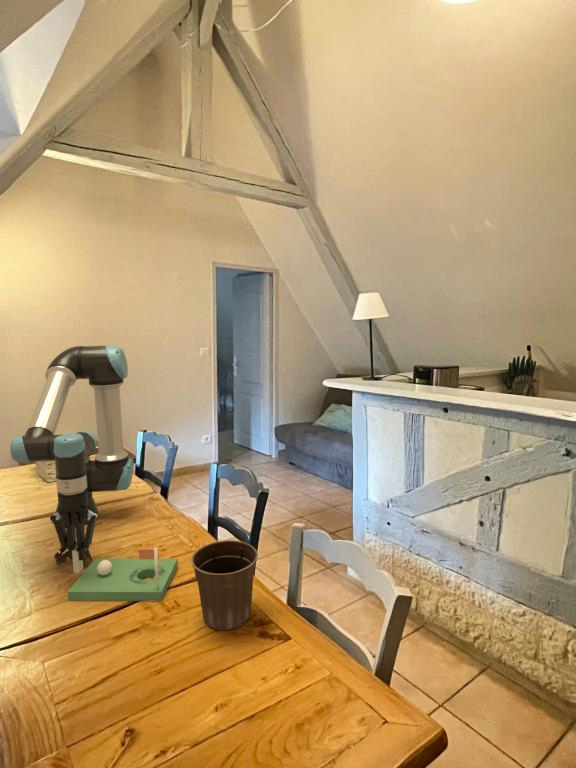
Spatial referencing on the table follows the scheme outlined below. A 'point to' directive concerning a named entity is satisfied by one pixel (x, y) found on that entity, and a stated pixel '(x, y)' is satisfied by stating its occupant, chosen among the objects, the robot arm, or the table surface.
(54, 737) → the table surface
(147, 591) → the green
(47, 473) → the storage basket
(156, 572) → the flag pin
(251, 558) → the plant pot
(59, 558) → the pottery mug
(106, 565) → the ball
